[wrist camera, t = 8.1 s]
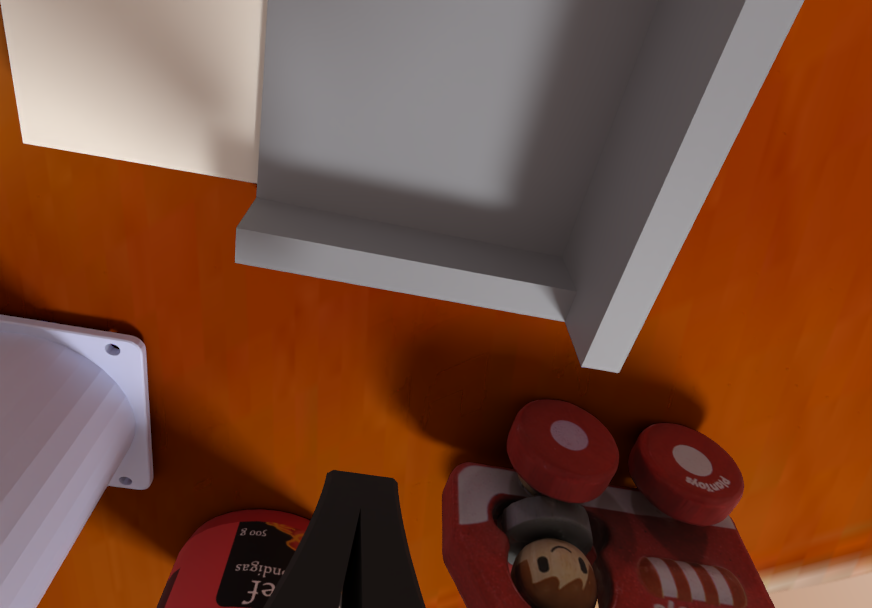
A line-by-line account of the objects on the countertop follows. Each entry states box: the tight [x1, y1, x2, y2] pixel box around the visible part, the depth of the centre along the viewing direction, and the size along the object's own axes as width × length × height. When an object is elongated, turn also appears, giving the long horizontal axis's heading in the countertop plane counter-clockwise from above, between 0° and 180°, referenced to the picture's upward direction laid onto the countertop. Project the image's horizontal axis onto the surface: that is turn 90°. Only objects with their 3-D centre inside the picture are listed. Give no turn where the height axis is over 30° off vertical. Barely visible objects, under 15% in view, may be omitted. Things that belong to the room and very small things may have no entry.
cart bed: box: [235, 0, 804, 373], centre depth 13 cm, size 10×12×6 cm
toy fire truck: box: [442, 399, 775, 608], centre depth 21 cm, size 7×12×10 cm, turn 76°
